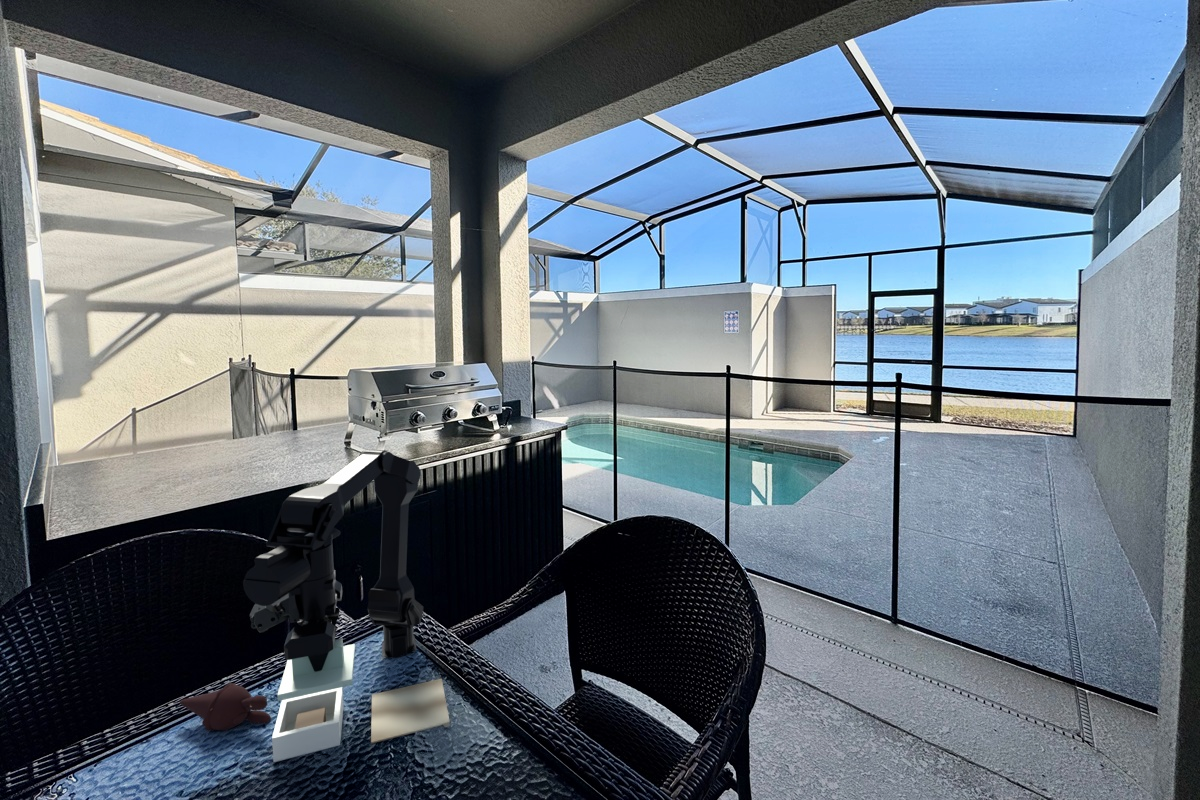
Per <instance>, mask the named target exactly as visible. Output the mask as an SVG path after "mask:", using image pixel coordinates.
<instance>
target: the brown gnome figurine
mask: <svg viewBox="0 0 1200 800" xmlns="http://www.w3.org/2000/svg"><path fill="white" fill-rule="evenodd" d="M179 704H180V705H181V706H183V707H184V708H186V709H187V710H189V711H190V712H192V713H194V714H195V715H196V716H197V717H199V718H202V721H201V723H202V724H201V725H202V726H203V727H204V728H205V730H206V731H208V732H209V731H210V732H213V731H215V730H216V731H227V730H230V729H233V728H234V727H236V726H238V725H240V724H241V723H243V722H244V721H245V720H246V721H248V722H250V723H252V724H268V723H270V721H271V720H272V716H270V714H269V713H268V712H266V711H263V710H264V709H265V708H266V707H267V706H268V698H266V696H264V695H259V694H258V695H257V694H256V695H254V696H252V695H251V693H250V692H249V691H248V690H247V689H246V688H245V687H244V686H243V685H242V686H240V685H237V684H236V683H235V682H233V683H232V682H229V683H227V684H226V685H224V686H223V687H222V688H221V689H219V690H216V691H213V692H208V693H205V694H204V693H203V694H200V695H196V696H192V697H191V696H190V697H187V698H184V699H181V700H180V701H179Z"/></svg>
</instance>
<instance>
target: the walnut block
mask: <svg viewBox="0 0 1200 800" xmlns="http://www.w3.org/2000/svg"><path fill="white" fill-rule="evenodd" d="M323 722H326V714H325V708H321V709H316V710H312V711H308V712H303V713H299V714H297V719H296V724H295V729H299V728H303V727H307V726H311V725H315V724H319V723H323Z"/></svg>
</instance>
